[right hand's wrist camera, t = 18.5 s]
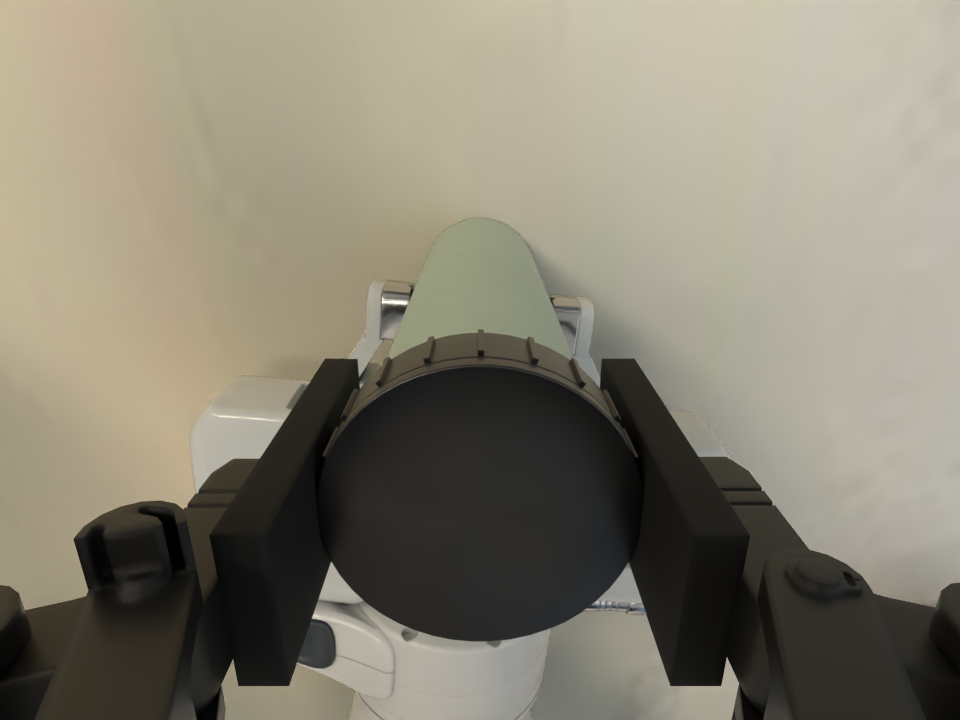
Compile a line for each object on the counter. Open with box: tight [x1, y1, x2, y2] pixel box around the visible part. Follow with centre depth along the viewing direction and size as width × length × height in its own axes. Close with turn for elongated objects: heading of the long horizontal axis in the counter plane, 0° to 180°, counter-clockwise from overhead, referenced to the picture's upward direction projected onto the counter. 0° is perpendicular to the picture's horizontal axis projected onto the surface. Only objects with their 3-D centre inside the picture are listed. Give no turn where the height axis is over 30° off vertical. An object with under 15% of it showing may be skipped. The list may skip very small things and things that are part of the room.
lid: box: [316, 329, 644, 642], centre depth 11 cm, size 6×6×2 cm
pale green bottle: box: [387, 218, 573, 360], centre depth 20 cm, size 5×5×18 cm
